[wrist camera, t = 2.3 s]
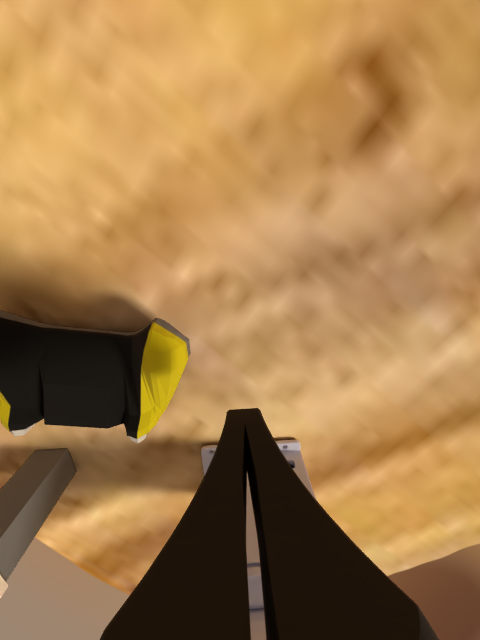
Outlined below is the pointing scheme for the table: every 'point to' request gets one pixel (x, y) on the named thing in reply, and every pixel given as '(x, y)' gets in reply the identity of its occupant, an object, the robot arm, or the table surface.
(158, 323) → the black yellow sneaker
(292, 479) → the robot arm
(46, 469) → the posts
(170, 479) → the table surface
